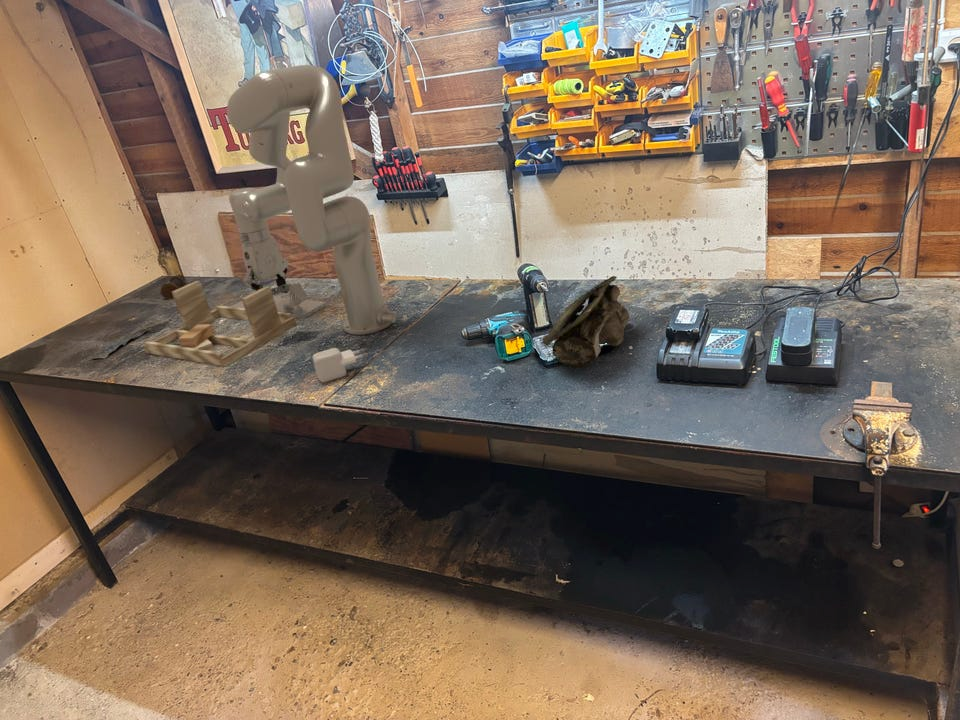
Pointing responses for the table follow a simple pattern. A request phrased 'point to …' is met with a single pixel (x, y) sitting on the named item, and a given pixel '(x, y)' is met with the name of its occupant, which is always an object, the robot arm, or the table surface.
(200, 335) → the offcut top
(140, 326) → the driftwood
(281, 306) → the plate
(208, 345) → the offcut bottom
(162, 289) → the brown lumpy piece
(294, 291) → the bracket
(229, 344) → the rack
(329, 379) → the power adapter
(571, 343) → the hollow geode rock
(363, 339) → the table surface
